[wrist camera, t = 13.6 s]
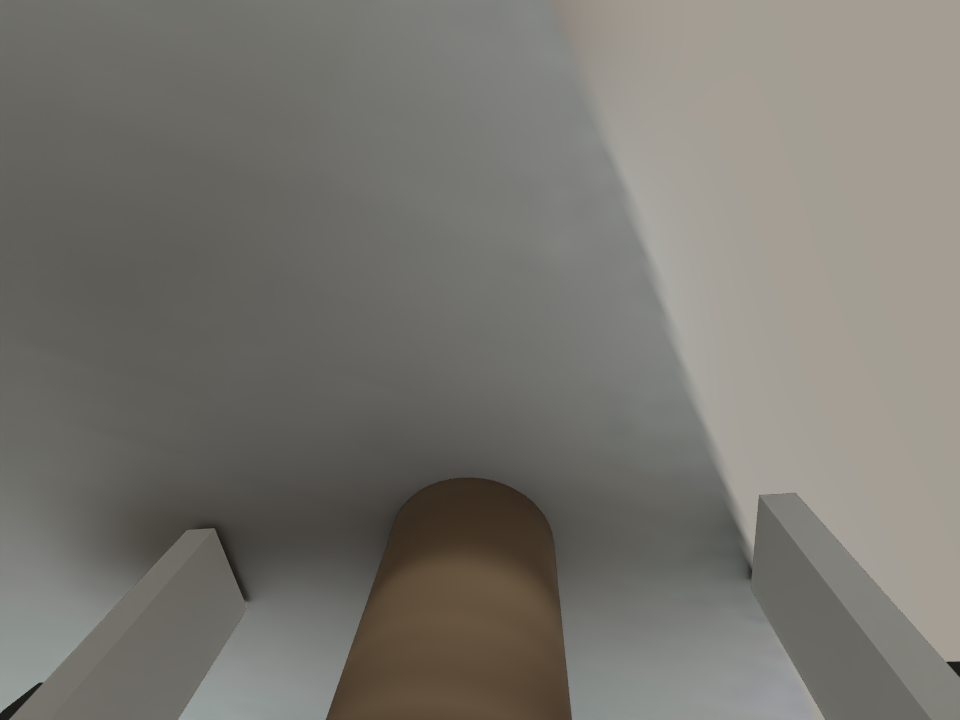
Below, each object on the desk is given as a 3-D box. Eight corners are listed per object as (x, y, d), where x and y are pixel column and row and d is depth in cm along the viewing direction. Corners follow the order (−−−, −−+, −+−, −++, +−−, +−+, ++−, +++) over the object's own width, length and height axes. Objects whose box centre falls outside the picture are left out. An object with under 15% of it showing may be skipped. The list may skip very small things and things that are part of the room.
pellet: (377, 483, 11) (279, 702, 7) (547, 471, 11) (571, 700, 6) (407, 607, 13) (345, 861, 8) (559, 602, 12) (585, 868, 7)
